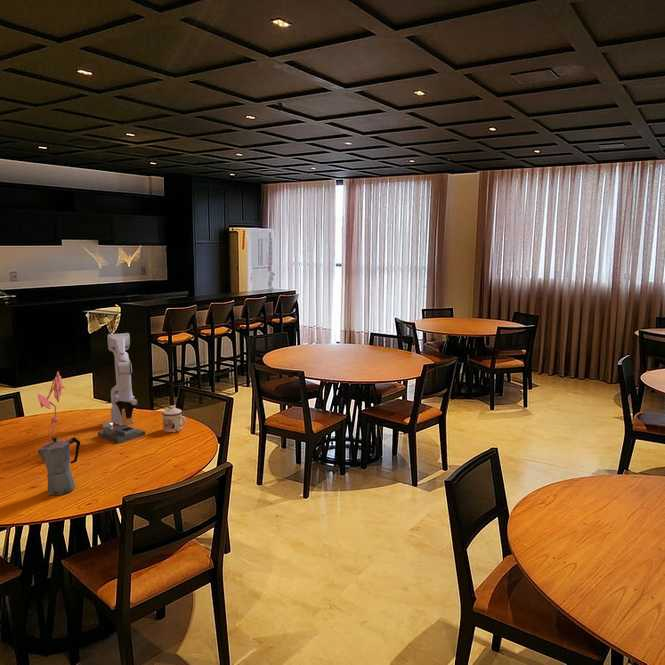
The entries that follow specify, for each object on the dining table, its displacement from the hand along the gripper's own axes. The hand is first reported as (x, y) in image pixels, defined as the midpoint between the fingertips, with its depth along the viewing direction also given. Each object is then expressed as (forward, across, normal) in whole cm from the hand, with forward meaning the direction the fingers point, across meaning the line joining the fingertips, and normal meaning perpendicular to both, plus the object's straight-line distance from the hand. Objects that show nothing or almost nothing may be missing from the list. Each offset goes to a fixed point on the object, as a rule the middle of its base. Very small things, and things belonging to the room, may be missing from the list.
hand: (126, 417), depth 265 cm
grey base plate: (+9, +3, +1) cm, 10 cm away
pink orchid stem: (+9, +2, +29) cm, 31 cm away
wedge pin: (+3, 0, 0) cm, 3 cm away
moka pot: (+9, -32, +48) cm, 58 cm away
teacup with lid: (+9, -10, -19) cm, 23 cm away
